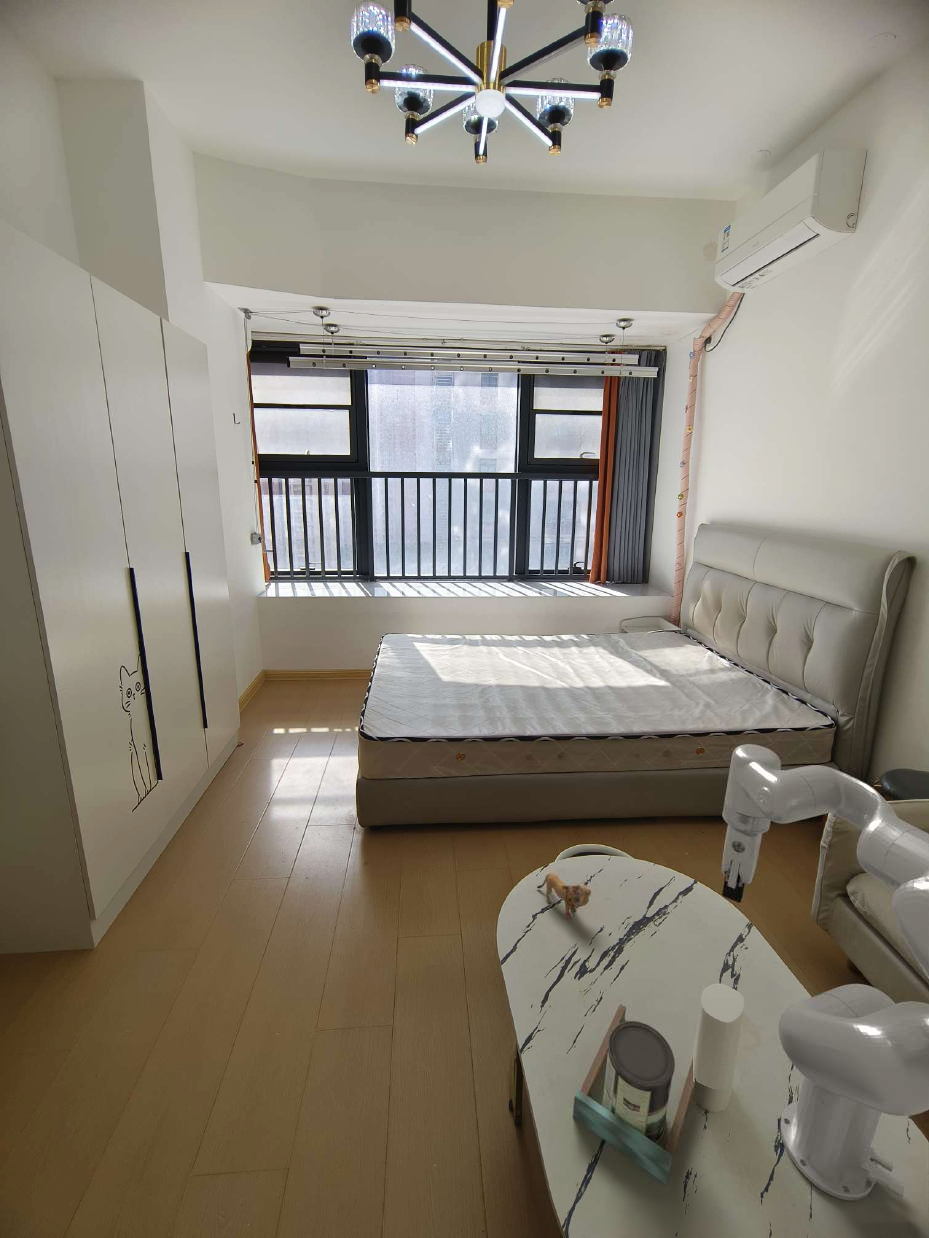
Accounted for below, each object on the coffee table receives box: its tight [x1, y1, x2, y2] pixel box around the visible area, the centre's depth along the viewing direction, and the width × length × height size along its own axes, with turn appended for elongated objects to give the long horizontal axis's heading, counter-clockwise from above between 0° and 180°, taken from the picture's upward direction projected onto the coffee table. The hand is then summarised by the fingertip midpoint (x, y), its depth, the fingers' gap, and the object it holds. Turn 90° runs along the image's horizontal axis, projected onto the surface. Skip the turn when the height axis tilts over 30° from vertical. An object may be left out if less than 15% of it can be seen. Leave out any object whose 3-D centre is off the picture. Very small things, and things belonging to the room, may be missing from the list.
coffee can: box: [601, 1020, 676, 1145], centre depth 90 cm, size 10×10×14 cm
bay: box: [572, 1003, 694, 1185], centre depth 95 cm, size 15×21×5 cm
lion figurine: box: [536, 872, 592, 919], centre depth 133 cm, size 15×5×9 cm, turn 47°
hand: (732, 896), depth 102 cm, fingers closed
